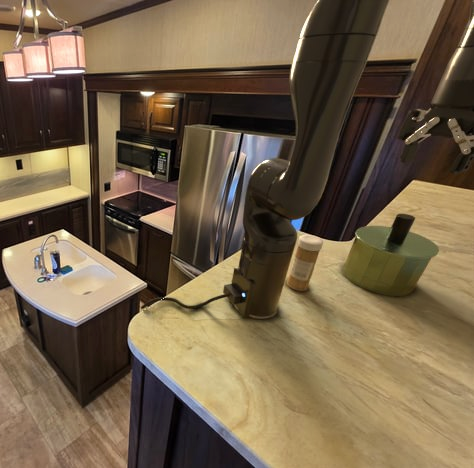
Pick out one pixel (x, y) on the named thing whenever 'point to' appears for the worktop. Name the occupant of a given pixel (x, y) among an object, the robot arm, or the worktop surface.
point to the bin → (382, 270)
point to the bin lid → (397, 239)
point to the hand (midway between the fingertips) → (429, 167)
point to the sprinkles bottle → (304, 262)
